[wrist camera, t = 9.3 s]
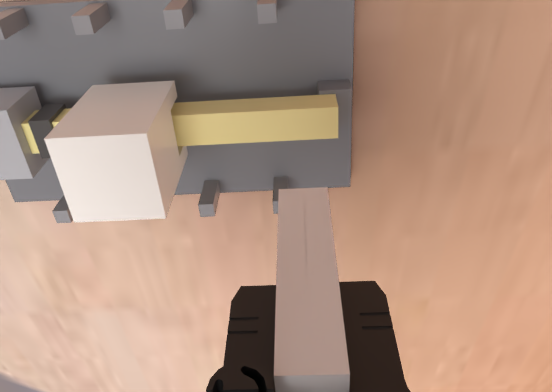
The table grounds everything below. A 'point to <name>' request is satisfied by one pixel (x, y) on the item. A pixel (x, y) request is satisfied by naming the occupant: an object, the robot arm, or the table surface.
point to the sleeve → (119, 152)
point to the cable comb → (187, 87)
